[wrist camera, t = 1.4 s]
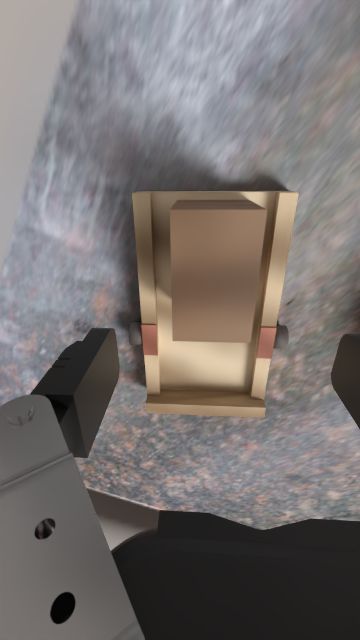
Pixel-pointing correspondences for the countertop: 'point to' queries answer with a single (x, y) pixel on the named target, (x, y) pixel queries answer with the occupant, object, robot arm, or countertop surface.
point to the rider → (215, 268)
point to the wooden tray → (207, 357)
